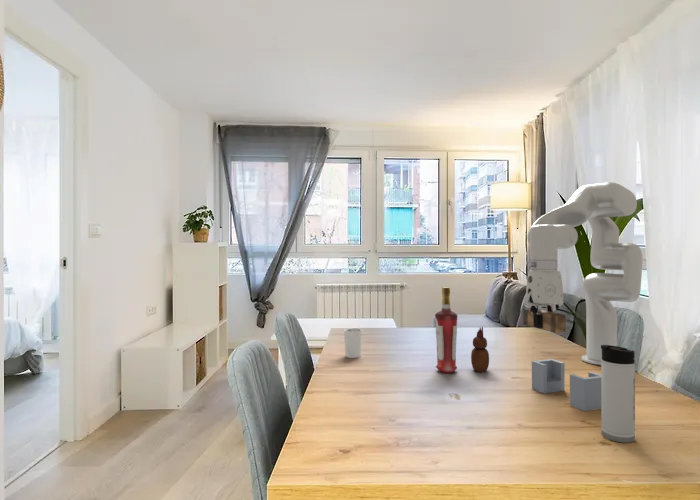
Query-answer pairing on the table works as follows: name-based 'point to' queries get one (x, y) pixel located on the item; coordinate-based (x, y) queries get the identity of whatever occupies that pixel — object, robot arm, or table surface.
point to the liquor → (446, 335)
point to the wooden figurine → (480, 353)
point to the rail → (547, 321)
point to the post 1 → (548, 376)
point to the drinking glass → (352, 342)
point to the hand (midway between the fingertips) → (543, 326)
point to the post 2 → (586, 391)
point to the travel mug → (618, 393)
